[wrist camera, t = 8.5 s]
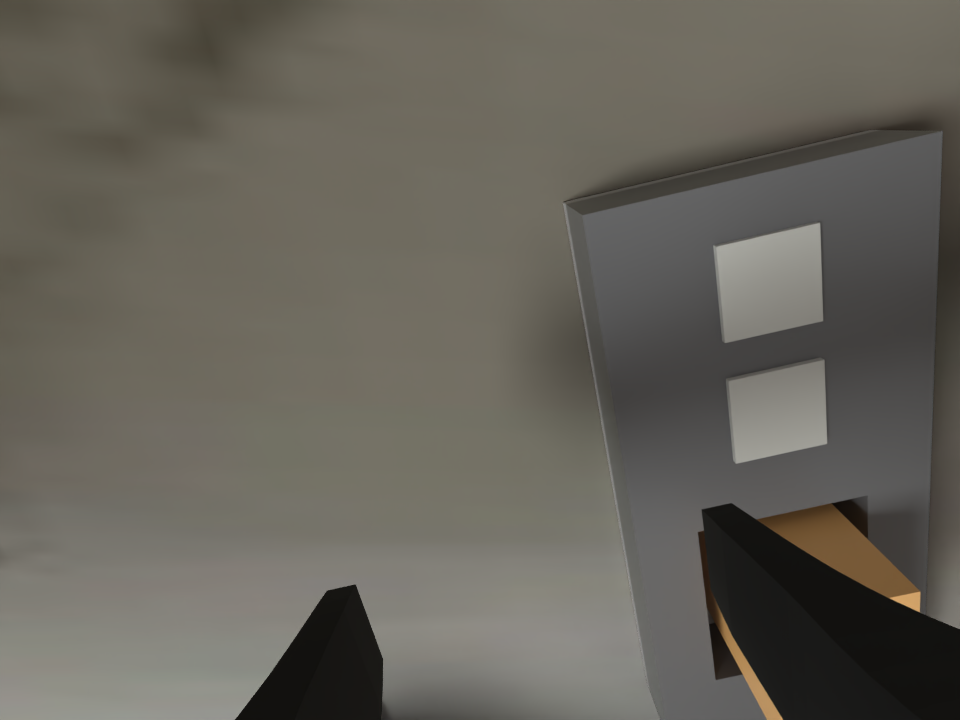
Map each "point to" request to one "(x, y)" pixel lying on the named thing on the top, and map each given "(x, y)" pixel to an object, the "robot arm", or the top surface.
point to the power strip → (761, 370)
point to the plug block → (834, 546)
